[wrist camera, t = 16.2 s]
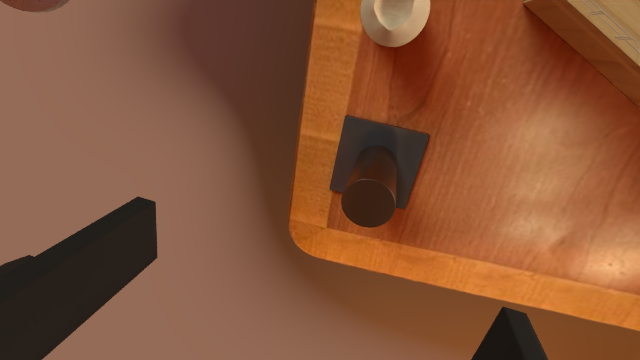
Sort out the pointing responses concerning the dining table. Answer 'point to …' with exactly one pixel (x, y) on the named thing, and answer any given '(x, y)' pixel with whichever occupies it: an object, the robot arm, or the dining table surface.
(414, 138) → the coaster
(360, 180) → the dark brown cylinder
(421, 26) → the candle
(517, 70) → the dining table surface
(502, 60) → the dining table surface
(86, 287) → the robot arm
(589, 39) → the skate ramp
